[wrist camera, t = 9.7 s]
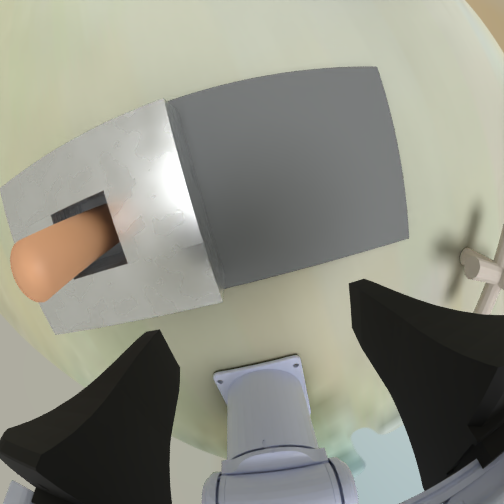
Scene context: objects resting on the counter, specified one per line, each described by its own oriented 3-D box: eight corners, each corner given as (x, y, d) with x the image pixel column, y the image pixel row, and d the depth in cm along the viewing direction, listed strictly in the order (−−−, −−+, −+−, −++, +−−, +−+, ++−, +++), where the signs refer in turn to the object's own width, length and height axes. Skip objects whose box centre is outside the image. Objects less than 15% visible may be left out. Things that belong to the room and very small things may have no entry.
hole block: (225, 275, 20) (222, 302, 16) (76, 310, 20) (55, 334, 16) (178, 111, 16) (163, 98, 12) (30, 181, 16) (-1, 188, 12)
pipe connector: (472, 303, 23) (525, 347, 14) (417, 297, 22) (483, 356, 12) (499, 221, 20) (563, 248, 11) (449, 194, 19) (535, 220, 9)
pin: (135, 236, 18) (63, 296, 9) (103, 246, 18) (27, 306, 9) (122, 196, 17) (37, 230, 8) (90, 209, 17) (3, 249, 8)
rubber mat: (406, 236, 20) (409, 238, 20) (76, 319, 21) (74, 321, 20) (374, 68, 16) (376, 66, 15) (24, 175, 16) (21, 175, 16)
